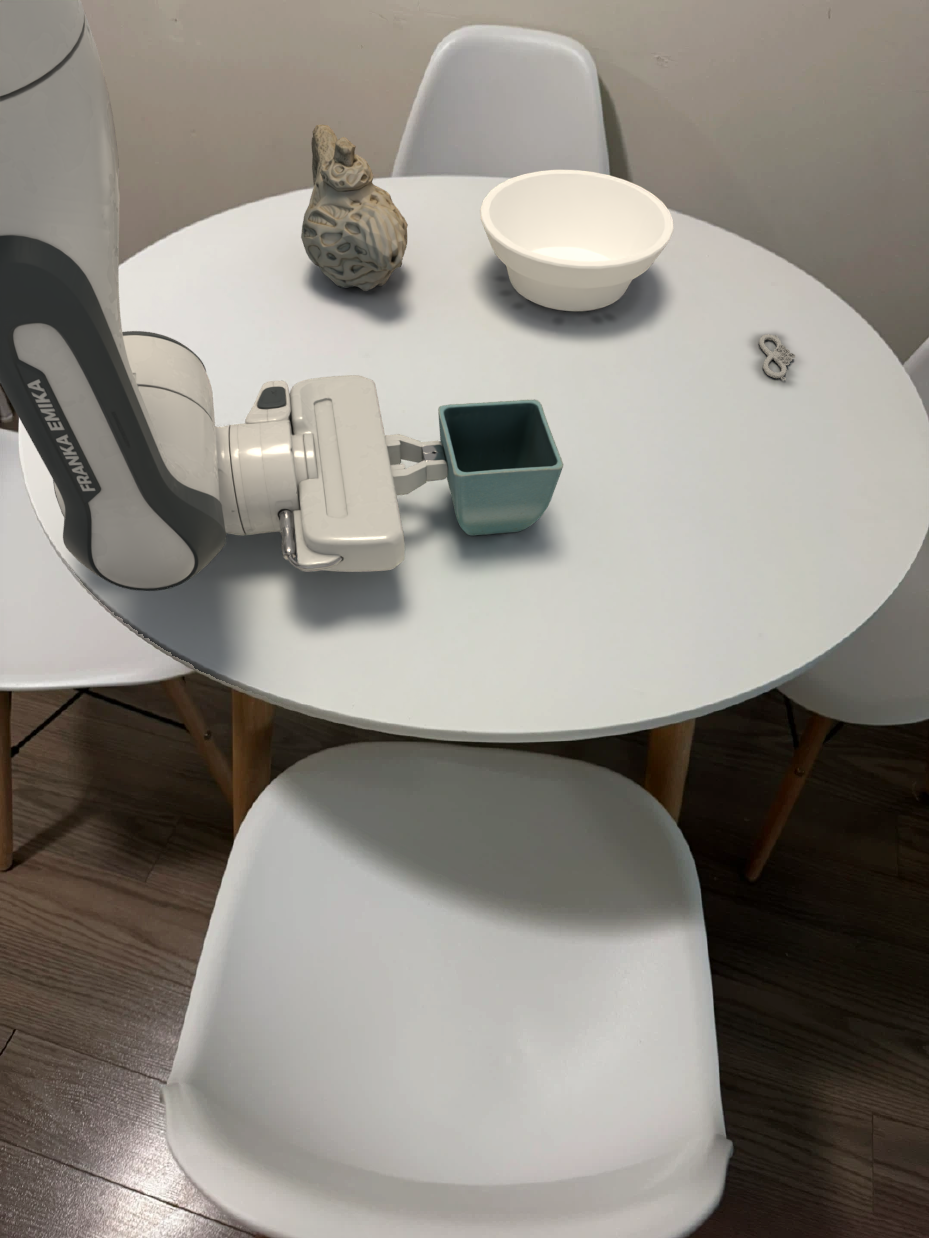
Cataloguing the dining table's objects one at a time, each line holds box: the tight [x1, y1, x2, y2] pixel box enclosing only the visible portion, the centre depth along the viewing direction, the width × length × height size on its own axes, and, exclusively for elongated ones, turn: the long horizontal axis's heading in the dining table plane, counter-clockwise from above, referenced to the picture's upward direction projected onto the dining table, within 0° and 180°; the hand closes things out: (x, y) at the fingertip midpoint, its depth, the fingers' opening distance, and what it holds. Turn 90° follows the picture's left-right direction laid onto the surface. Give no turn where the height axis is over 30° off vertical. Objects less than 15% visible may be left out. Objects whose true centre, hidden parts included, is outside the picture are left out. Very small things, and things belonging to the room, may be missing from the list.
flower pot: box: [437, 399, 564, 536], centre depth 74 cm, size 9×9×9 cm
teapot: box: [300, 124, 409, 292], centre depth 95 cm, size 21×12×15 cm, turn 26°
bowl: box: [479, 169, 675, 312], centre depth 98 cm, size 21×21×8 cm
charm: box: [758, 333, 796, 381], centre depth 93 cm, size 8×1×4 cm
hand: (444, 459), depth 73 cm, fingers closed, pressing on flower pot
